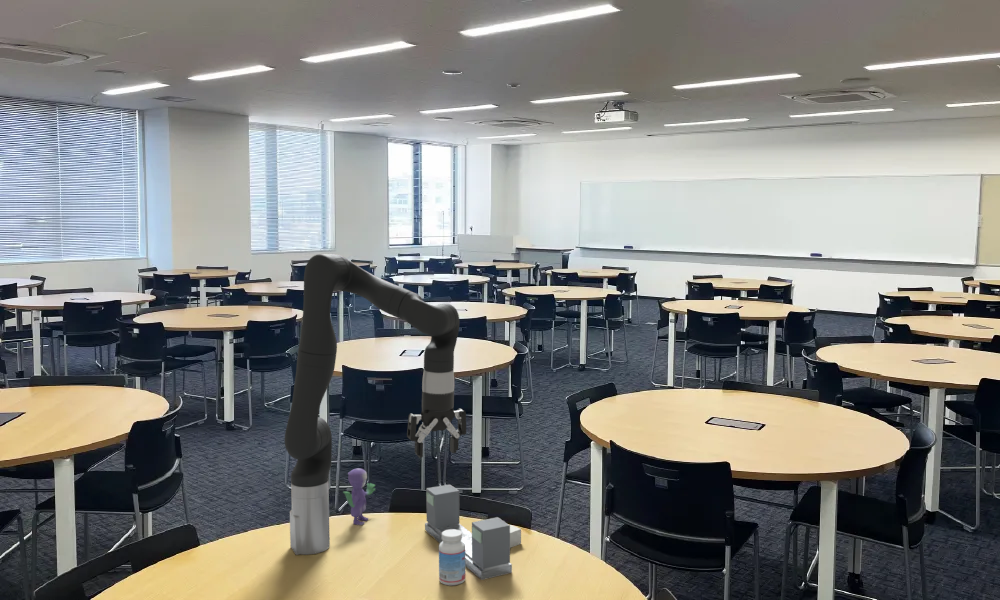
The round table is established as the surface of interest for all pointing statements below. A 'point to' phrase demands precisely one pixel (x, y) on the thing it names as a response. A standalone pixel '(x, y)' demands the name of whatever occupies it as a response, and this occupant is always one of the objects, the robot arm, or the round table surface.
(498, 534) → the modules
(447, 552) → the pill bottle
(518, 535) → the box
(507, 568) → the rail
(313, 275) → the robot arm
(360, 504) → the toy
